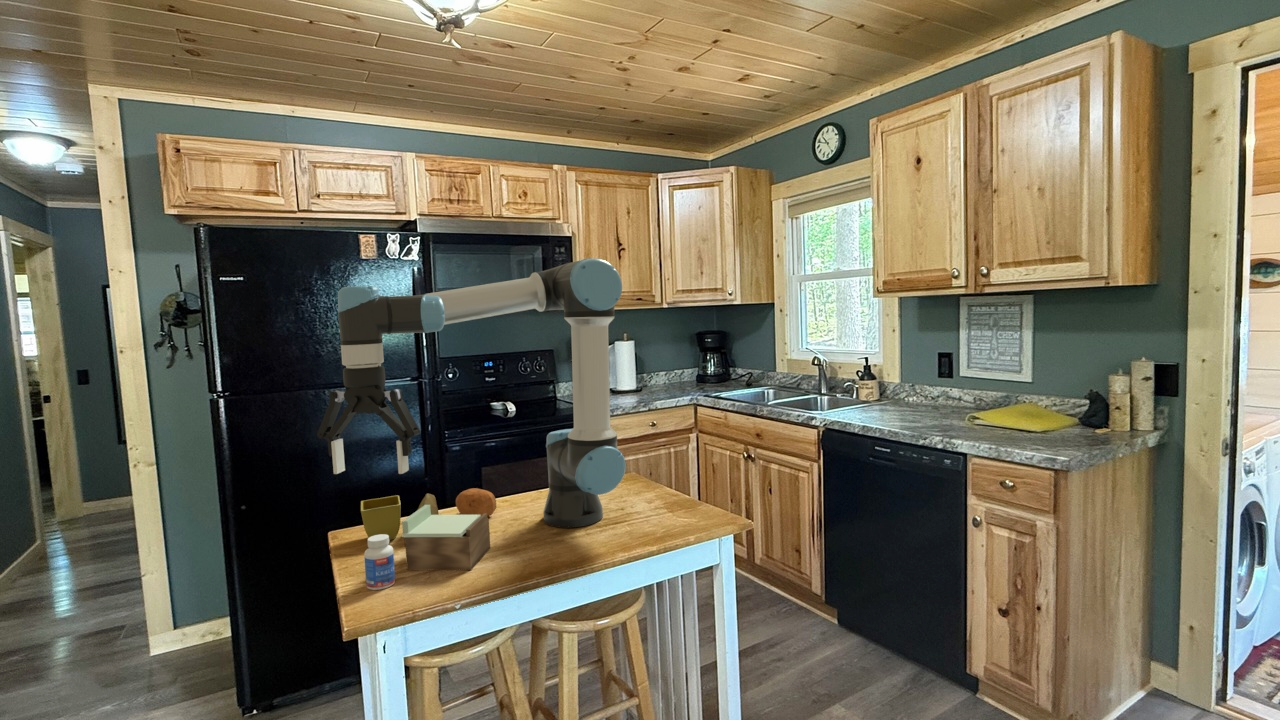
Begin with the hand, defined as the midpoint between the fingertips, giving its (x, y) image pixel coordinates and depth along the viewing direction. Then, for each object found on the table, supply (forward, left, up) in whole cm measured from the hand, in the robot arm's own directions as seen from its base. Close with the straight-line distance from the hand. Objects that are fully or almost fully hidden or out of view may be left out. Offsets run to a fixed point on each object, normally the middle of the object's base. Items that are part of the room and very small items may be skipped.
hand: (371, 472), depth 125 cm
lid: (-8, -13, -16) cm, 22 cm away
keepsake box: (-9, -13, -23) cm, 28 cm away
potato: (-4, -41, -23) cm, 47 cm away
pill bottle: (0, 0, -23) cm, 23 cm away
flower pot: (+13, -25, -23) cm, 36 cm away
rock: (+3, -26, -23) cm, 35 cm away
